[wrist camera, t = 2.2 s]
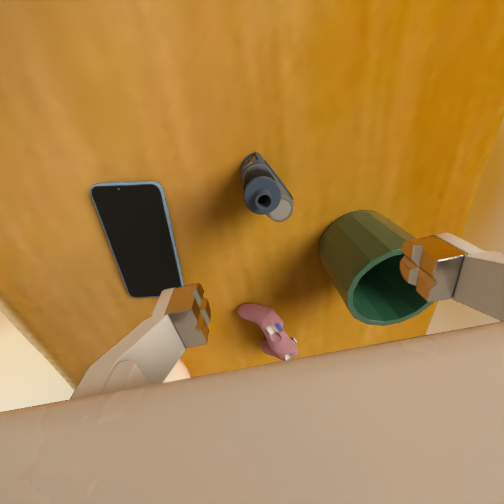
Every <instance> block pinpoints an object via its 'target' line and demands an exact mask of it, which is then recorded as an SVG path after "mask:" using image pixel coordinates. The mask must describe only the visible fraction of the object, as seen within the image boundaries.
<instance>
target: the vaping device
mask: <svg viewBox="0 0 504 504" xmlns="http://www.w3.org/2000/svg"><path fill="white" fill-rule="evenodd" d="M241 178H242V180H241V183H242V187H243V191H244V201H245V204H246V206H247V207H248V209H249V210H251V211H252V212H254V213H256V214H262V215H263V214H266V215H267V216H268V217H269V218H271V219H272V220H273V221H276V222H282V221H285V220H287V219H288V218H289V217H290V216H291V214H292V211H293V198H292V196H291V194H290V193H289V191H288V190H287V188H286V187H285V185H284V184H283V182H282V181H281V179H280V178H279V177H278V176H277V175H276V173H275V172H274V171H273V170H272V168H271V167H270V166H269V165H268V164H267V162H266V161H265V160H264V159H263V158H262V157H261V155H260V154H259V153H257V152H255V153H252V154H250V155H248V156H247V157H246V158H245V159H244V161H243V163H242V165H241Z"/></svg>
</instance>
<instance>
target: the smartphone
mask: <svg viewBox="0 0 504 504" xmlns="http://www.w3.org/2000/svg"><path fill="white" fill-rule="evenodd" d="M90 193H91V197H92V199H93V202H94V205H95V207H96V210H97V213H98V215H99V218H100V220H101V223H102V226H103V228H104V231H105V234H106V236H107V239H108V241H109V244H110V247H111V249H112V252H113V255H114V257H115V260H116V262H117V265H118V268H119V270H120V273H121V276H122V278H123V281H124V283H125V286H126V289H127V291H128V293H129V295H130V296H132V297H135V298H145V297H159V296H160V294H161V292H162V291H163V290H165V289H169V288H174V287H175V288H176V287H180V286H184V282H183V277H182V273H181V268H180V264H179V259H178V255H177V250H176V245H175V241H174V236H173V230H172V226H171V223H170V217H169V212H168V208H167V203H166V200H165V195H164V191H163V188H162V187H161V185H160V184H159V183H157V182H154V181H139V182H114V183H98V184H95V185H93V186H92V187H91V190H90Z"/></svg>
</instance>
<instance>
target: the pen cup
mask: <svg viewBox="0 0 504 504" xmlns="http://www.w3.org/2000/svg"><path fill="white" fill-rule="evenodd" d="M414 239H416V238H415V237H413V236H412V235H410V234H409V233H408V232H406V231H405V230H403V229H402V228H400V227H399V226H397V225H396V224H395V223H393V222H392V221H390V220H389V219H387V218H386V217H384V216H383V215H381V214H379V213H377V212H374V211H369V210H359V211H354V212H350V213H348V214H345V215H343V216H341V217H340V218H338V219H337V220H335V221H334V222H333V223H332V224H331V225H330V226H329V227H328V228H327V229H326V231H325V232H324V234H323V236H322V238H321V240H320V244H319V257H320V260H321V262H322V264H323V266H324V268H325V269H326V271H327V273H328V275H329V276H330V278H331V280H332V282H333V283H334V285H335V287H336V289H337V290H338V292H339V294H340V296H341V297H342V299H343V301H344V303H345V304H346V306H347V308H348V309H349V311H350V312H351V314H352V315H353V317H354V318H356V319H358V320H360V321H361V322H363V323H365V324H370V325H380V326H385V325H390V324H395V323H400V322H403V321H405V320H407V319H409V318H412V317H414V316H416V315H418V314H420V313H421V312H422V311H423V310H425V309H426V308H427V307H429V306H430V305H431V304H433V303H434V302H435V301H433V302H427V301H426V300H425V299H424V298H423V297H422V296H421V295H420V294H419V293H418V292H417V291H416V286H415V285H412V284H409V283H408V282H407V281H406V280H405V279H404V278H403V276H402V275H401V271H400V260H401V259H402V258H403V257H404V254H403V253H402V251H401V250H402V245H403V243H404V242H405V241H409V240H414Z"/></svg>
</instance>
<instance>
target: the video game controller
mask: <svg viewBox="0 0 504 504" xmlns="http://www.w3.org/2000/svg"><path fill="white" fill-rule="evenodd" d="M237 313H238V315H239V317H241V318H242V319H245V320H248V321H251V322H254V323H256V324H257V325H259V326H260V328H261V330H262V331H263V333H264V335H265V336H266V338H267V340H264V341H263V342H262V343H261V349H262V351H263V352H264V353H266V354H269V355H272V356H275V357H277V358H279V359H281V360H283V361H286V360H289V359H292V358H294V357H295V356H296V355H297V354H298V353H299V352H298V350H297V348H296V346H295V343H296V344H297V342H296V340H295V338H293V337H291V339H290V338H289V337H288V335H287V334H286V332H285V331H284V329H283V328H284V323H283V322H282V320H281V319H280V317H279V316H278V315H277V313H276V312H275V311H274V310H273V309H272V308H271V307H269V306H267V307H266V306H263V305H259V304H253V303H251V304H244V305H241V306H240V307H239V308H238V311H237Z"/></svg>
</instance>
